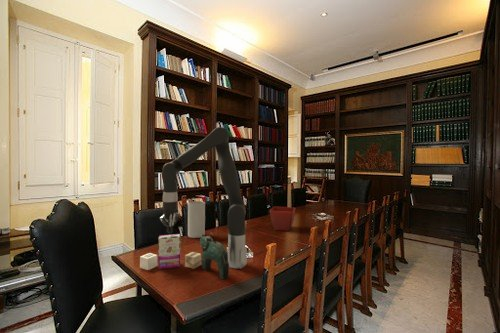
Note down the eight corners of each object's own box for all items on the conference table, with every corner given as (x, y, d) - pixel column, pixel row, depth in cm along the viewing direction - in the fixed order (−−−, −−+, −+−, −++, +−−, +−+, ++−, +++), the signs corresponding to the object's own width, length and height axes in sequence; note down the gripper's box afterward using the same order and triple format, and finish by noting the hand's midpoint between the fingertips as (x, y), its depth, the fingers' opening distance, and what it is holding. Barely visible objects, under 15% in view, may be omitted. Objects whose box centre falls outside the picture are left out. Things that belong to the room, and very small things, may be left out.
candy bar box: (180, 263, 136) (180, 233, 135) (180, 267, 131) (180, 236, 130) (158, 265, 133) (159, 235, 132) (158, 269, 128) (158, 237, 127)
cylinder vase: (202, 238, 180) (203, 204, 179) (185, 238, 180) (185, 203, 180) (206, 233, 192) (206, 201, 192) (190, 233, 193) (190, 201, 192)
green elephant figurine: (198, 268, 130) (198, 230, 129) (208, 264, 134) (208, 228, 134) (221, 281, 116) (222, 239, 115) (232, 277, 120) (232, 236, 120)
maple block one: (201, 264, 134) (201, 253, 134) (193, 269, 129) (193, 257, 129) (192, 262, 137) (192, 251, 137) (184, 266, 132) (184, 255, 132)
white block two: (157, 266, 132) (157, 254, 132) (147, 270, 127) (147, 258, 127) (149, 263, 135) (149, 252, 135) (139, 267, 130) (140, 256, 129)
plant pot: (269, 230, 202) (269, 210, 202) (273, 225, 220) (273, 206, 220) (292, 232, 197) (292, 211, 196) (295, 226, 215) (295, 207, 215)
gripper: (165, 202, 123) (165, 237, 124) (184, 199, 135) (184, 231, 135) (155, 201, 127) (154, 234, 127) (174, 198, 139) (174, 229, 139)
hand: (169, 232), depth 131 cm, fingers closed
